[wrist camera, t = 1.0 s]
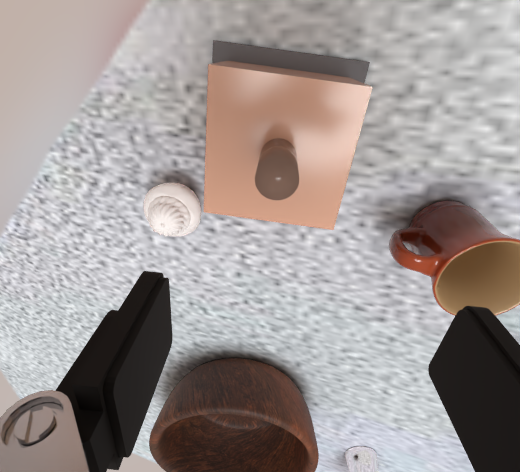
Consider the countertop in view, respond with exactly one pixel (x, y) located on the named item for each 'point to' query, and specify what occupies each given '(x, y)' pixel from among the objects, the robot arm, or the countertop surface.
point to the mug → (461, 257)
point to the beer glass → (361, 459)
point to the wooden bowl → (235, 422)
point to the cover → (280, 142)
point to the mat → (289, 60)
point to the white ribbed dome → (172, 209)
